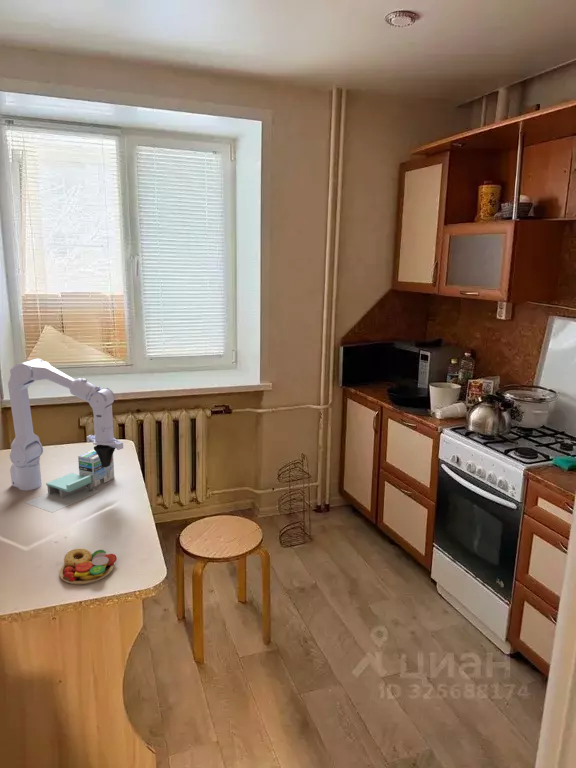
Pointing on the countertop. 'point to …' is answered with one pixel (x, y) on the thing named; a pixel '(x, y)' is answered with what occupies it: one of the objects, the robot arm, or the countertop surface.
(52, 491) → the board
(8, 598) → the countertop surface
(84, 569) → the toy food set
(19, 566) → the countertop surface
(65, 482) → the cover
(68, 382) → the robot arm
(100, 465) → the light bulb box
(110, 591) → the countertop surface
